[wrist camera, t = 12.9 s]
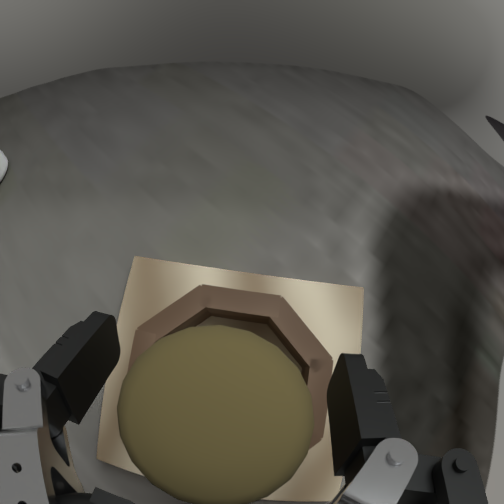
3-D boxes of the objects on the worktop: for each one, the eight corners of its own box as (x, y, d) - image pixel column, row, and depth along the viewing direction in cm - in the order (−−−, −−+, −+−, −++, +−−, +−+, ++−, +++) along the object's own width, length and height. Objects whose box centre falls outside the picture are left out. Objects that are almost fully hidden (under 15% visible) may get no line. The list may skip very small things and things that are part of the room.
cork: (305, 409, 15) (393, 451, 5) (216, 462, 14) (175, 565, 4) (247, 325, 17) (248, 246, 7) (160, 377, 16) (45, 367, 6)
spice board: (104, 455, 14) (79, 465, 11) (140, 262, 20) (122, 240, 17) (331, 494, 14) (347, 514, 10) (357, 292, 19) (377, 275, 16)
